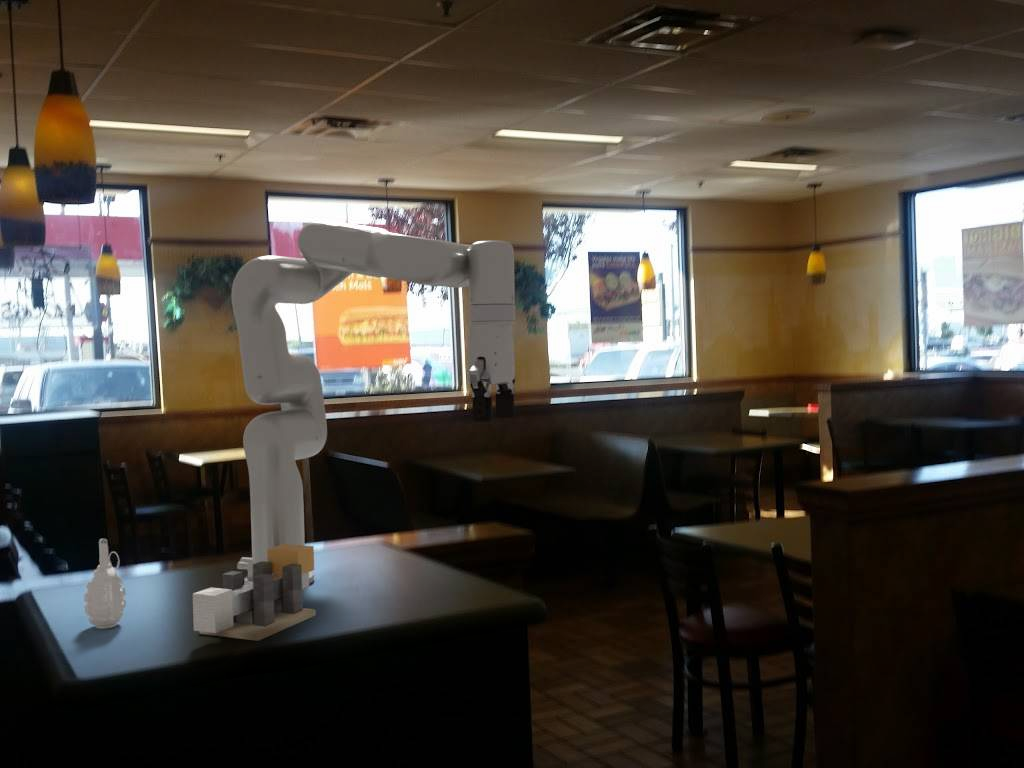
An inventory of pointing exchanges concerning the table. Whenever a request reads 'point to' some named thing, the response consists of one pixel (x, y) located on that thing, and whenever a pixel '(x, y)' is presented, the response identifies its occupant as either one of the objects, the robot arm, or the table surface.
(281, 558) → the block
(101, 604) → the hand grenade
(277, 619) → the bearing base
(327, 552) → the table surface
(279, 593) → the block ended bar
